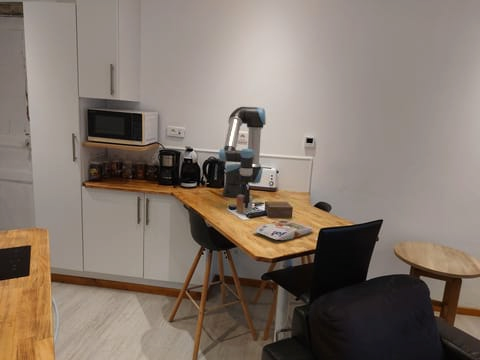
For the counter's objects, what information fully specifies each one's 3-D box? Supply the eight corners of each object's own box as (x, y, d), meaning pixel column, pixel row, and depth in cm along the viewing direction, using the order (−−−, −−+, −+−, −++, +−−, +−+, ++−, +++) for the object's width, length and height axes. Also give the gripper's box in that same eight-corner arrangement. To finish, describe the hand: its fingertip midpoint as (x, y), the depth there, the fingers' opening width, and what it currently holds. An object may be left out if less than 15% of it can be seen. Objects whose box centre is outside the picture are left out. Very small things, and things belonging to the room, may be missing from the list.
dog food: (288, 224, 202) (289, 216, 202) (315, 233, 189) (316, 224, 189) (250, 234, 182) (251, 225, 181) (277, 245, 169) (278, 235, 168)
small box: (235, 212, 220) (236, 195, 218) (240, 210, 225) (240, 194, 223) (247, 214, 217) (248, 197, 215) (251, 212, 222) (252, 196, 220)
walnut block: (264, 212, 226) (265, 201, 224) (286, 212, 227) (286, 201, 226) (268, 218, 212) (269, 207, 211) (291, 219, 214) (292, 207, 213)
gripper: (236, 171, 226) (234, 206, 230) (243, 177, 206) (241, 215, 210) (247, 171, 228) (245, 206, 232) (256, 178, 207) (254, 215, 211)
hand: (243, 210), depth 221 cm, fingers closed on small box, 9 cm apart
